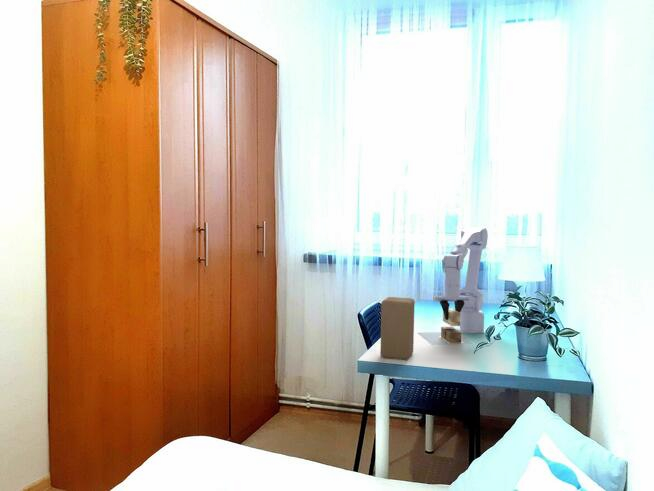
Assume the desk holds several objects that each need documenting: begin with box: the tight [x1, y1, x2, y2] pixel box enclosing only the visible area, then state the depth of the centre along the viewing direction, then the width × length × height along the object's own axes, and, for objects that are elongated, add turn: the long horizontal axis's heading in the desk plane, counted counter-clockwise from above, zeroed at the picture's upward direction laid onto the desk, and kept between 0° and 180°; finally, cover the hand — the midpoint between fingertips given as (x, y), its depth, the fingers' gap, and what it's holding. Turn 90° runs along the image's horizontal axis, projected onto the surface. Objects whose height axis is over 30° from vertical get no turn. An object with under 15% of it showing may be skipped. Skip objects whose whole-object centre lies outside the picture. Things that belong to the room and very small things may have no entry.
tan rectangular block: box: [442, 307, 461, 327], centre depth 222 cm, size 4×10×5 cm, turn 7°
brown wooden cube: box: [440, 326, 457, 339], centre depth 226 cm, size 4×4×4 cm
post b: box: [446, 329, 462, 343], centre depth 220 cm, size 4×4×4 cm
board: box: [417, 331, 473, 346], centre depth 226 cm, size 16×20×1 cm
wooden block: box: [380, 296, 416, 361], centre depth 198 cm, size 10×10×20 cm
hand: (451, 319), depth 222 cm, fingers closed on tan rectangular block, 3 cm apart
